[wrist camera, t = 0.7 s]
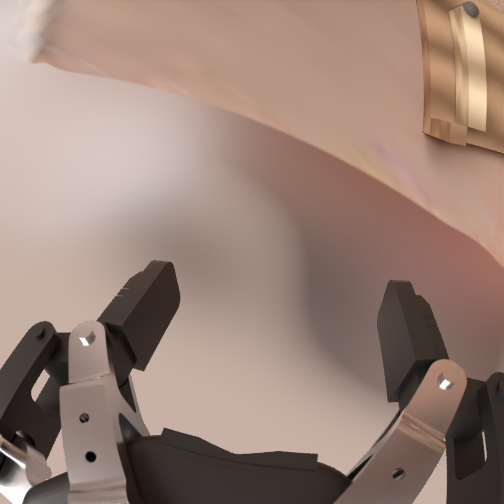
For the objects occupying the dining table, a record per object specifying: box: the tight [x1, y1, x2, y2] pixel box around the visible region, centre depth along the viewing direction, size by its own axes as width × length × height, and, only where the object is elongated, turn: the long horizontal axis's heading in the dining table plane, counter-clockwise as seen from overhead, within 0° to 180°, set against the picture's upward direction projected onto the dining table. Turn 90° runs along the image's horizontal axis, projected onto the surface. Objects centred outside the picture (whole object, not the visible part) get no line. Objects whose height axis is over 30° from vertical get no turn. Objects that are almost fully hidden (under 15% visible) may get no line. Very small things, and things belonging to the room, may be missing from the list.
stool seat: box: [416, 0, 504, 153], centre depth 15 cm, size 20×19×7 cm
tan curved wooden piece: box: [449, 1, 487, 131], centre depth 16 cm, size 15×2×4 cm, turn 3°
